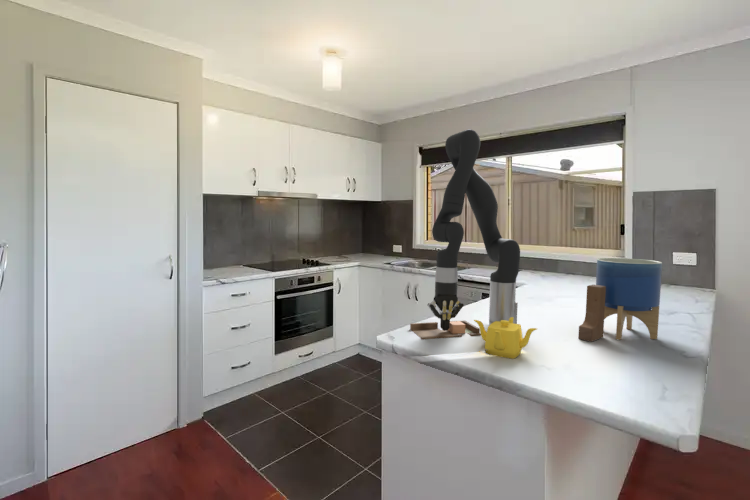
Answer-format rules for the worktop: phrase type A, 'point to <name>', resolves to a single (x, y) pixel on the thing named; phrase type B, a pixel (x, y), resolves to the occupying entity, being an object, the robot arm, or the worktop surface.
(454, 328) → the block
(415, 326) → the box
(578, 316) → the worktop surface
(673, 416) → the worktop surface
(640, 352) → the worktop surface
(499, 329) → the teapot
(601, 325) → the wooden block
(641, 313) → the planter
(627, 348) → the worktop surface
